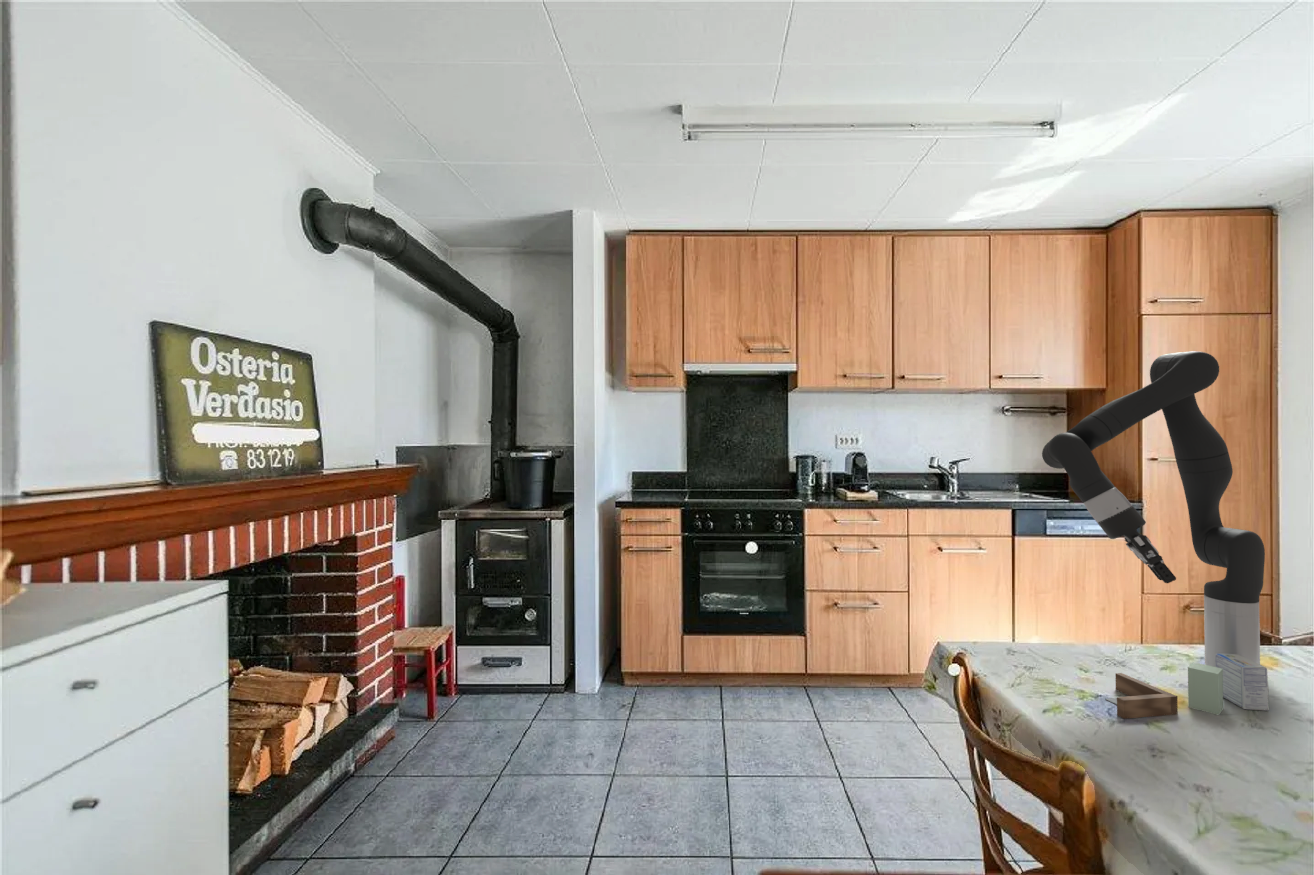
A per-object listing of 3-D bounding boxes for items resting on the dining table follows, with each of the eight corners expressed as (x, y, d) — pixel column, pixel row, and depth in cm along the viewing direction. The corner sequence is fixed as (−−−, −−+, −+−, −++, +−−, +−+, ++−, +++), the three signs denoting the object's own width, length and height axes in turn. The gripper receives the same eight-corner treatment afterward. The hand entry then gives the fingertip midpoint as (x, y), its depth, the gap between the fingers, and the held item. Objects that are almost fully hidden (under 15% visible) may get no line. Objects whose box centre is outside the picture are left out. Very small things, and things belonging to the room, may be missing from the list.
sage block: (1193, 701, 124) (1193, 662, 124) (1223, 708, 120) (1222, 668, 121) (1188, 707, 121) (1187, 667, 121) (1218, 715, 118) (1218, 673, 118)
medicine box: (1269, 711, 119) (1269, 667, 119) (1242, 709, 120) (1242, 666, 120) (1239, 695, 127) (1239, 653, 127) (1214, 693, 128) (1214, 652, 128)
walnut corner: (1121, 689, 130) (1121, 673, 130) (1177, 714, 118) (1177, 696, 118) (1072, 693, 128) (1072, 676, 128) (1124, 718, 116) (1123, 700, 116)
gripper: (1134, 503, 126) (1193, 574, 119) (1128, 504, 137) (1181, 569, 131) (1098, 521, 129) (1153, 591, 122) (1094, 521, 140) (1145, 585, 134)
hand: (1168, 580), depth 127 cm, fingers open, 8 cm apart
